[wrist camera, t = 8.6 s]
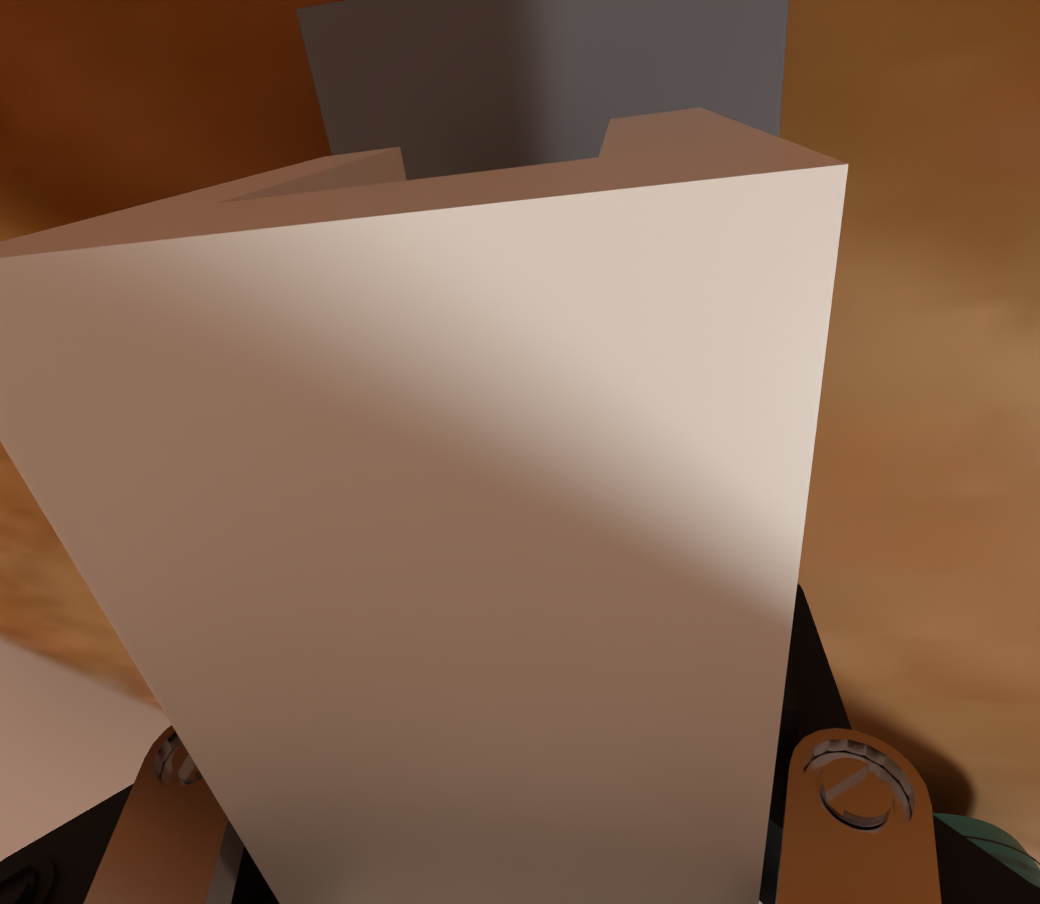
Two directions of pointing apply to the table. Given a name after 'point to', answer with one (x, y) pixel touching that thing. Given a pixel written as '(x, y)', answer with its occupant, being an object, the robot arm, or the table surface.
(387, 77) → the header
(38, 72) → the table surface
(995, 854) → the beverage bottle
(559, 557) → the white rectangular block
